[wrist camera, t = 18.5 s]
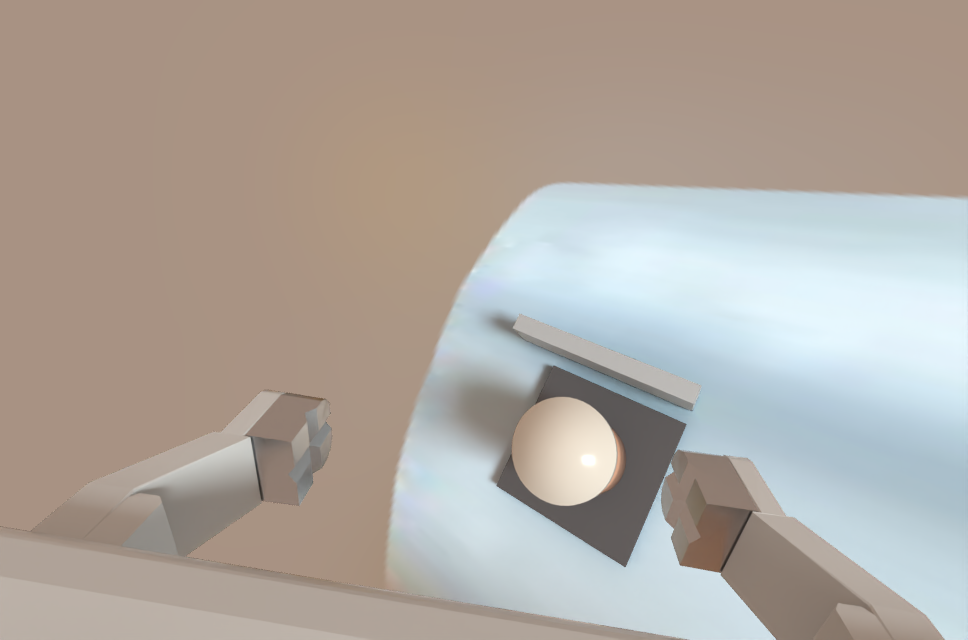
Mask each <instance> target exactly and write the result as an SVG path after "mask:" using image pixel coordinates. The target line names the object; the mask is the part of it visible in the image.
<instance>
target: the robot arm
mask: <svg viewBox="0 0 968 640" xmlns="http://www.w3.org/2000/svg"><path fill="white" fill-rule="evenodd" d="M330 414H331V412H330V404H329V401H327V400H326V399H322V398H316V397H310V396H304V395H298V394H292V393H284V392H279V391H272V390H264V391H261V392H260V393H259V394H258V395H257V396H256V397H255V398H254V399H253V400H252V401H251V402H250V403H249V404H248V405H247V406H246V407H245V408H244V409H243V410H242V411H241V412H240V413H239V414H238V415H237V416H236V417H235V418H234V419H233V420H232V421H231V422H230V423H229V424H228V425H227V426H226V427H225V428H224V429H223V430H222V431H221V432H215V431H214V432H211V433H209V434H206V435H204V436H201V437H199V438H197V439H194V440H192V441H189V442H187V443H184V444H182V445H179V446H177V447H175V448H172V449H170V450H168V451H165V452H162V453H160V454H157V455H155V456H153V457H150V458H148V459H145V460H143V461H141V462H138V463H136V464H133V465H131V466H128V467H126V468H123V469H121V470H118V471H116V472H113V473H111V474H109V475H106V476H104V477H101V478H99V479H96V480H94V481H91V482H89V483H88V484H86V485H85V486H84V487H83V488H82V489H80V490H79V491H78V492H77V493H76V494H74V495H73V496H72V497H71V498H70V499H68V500H67V501H66V502H65V503H64V504H62V505H61V506H60V507H59V508H57V509H56V510H55V511H54V512H53V513H51V514H50V515H49V516H48V517H47V518H45V519H44V520H43V521H42V522H41V523H40V524H38V525H37V526H36V527H35V528H34V529H32V530H31V531H26V530H20V529H14V528H7V527H1V526H0V640H688V639H682V638H676V637H670V636H664V635H658V634H652V633H646V632H640V631H634V630H628V629H622V628H615V627H609V626H603V625H597V624H591V623H585V622H579V621H573V620H567V619H561V618H555V617H549V616H543V615H537V614H530V613H524V612H518V611H512V610H506V609H500V608H494V607H488V606H482V605H476V604H470V603H464V602H458V601H452V600H446V599H439V598H433V597H427V596H421V595H415V594H409V593H403V592H397V591H391V590H385V589H379V588H372V587H366V586H361V585H354V584H348V583H342V582H336V581H330V580H324V579H318V578H312V577H306V576H300V575H294V574H288V573H282V572H275V571H269V570H263V569H257V568H251V567H245V566H239V565H233V564H226V563H221V562H214V561H209V560H203V559H196V558H190V557H185V556H187V555H188V554H189V553H191V552H192V551H194V550H195V549H197V548H198V547H199V546H201V545H202V544H204V543H205V542H206V541H208V540H209V539H211V538H212V537H214V536H215V535H217V534H218V533H220V532H221V531H222V530H224V529H225V528H227V527H228V526H229V525H231V524H232V523H234V522H235V521H237V520H238V519H240V518H241V517H243V516H244V515H245V514H247V513H248V512H250V511H251V510H253V509H254V508H255V507H257V506H258V505H260V504H261V503H262V501H266V502H273V503H281V504H289V505H298V506H299V505H300V504H301V502H302V500H303V499H304V497H305V496H306V494H307V492H308V490H309V489H310V487H311V486H312V484H313V475H312V474H313V473H314V472H316V471H318V470H320V469H321V468H322V467H323V465H324V464H325V462H326V460H327V458H328V455H329V451H330V448H331V443H332V429H331V427H330V426H329V425H328V424H327V422H326V420H327V418H328V417H329V415H330ZM671 464H672V467H673V470H674V472H673V473H672V474H670V475H669V476H667V477H666V478H665V481H664V484H663V487H662V495H661V504H662V511H663V514H664V517H665V520H666V521H667V522H668V523H669V524H670V525H671V526H672V527H673V528H674V531H673V534H672V536H671V540H672V543H673V546H674V549H675V552H676V555H677V558H678V561H679V564H680V565H681V566H687V567H692V568H698V569H703V570H708V571H714V572H719V573H721V576H722V577H723V578H724V579H725V580H726V582H727V583H728V584H729V585H730V586H731V587H732V589H733V590H734V591H735V592H736V593H737V594H738V596H739V597H740V598H741V599H742V600H743V601H744V602H745V604H746V605H747V606H748V607H749V608H750V609H751V611H752V612H753V613H754V614H755V615H756V616H757V618H758V619H759V620H760V621H761V622H762V623H763V624H764V626H765V627H766V628H767V629H768V630H769V631H770V633H771V634H772V635H773V636H774V637H775V638H776V640H945V639H944V638H943V637H942V635H941V634H940V633H939V632H938V630H937V629H936V628H935V626H934V625H933V624H932V623H931V621H930V620H929V619H928V617H927V616H926V615H925V614H923V613H922V612H921V611H919V610H918V609H917V608H915V607H914V606H913V605H911V604H910V603H909V602H907V601H906V600H905V599H903V598H902V597H900V596H899V595H898V594H896V593H895V592H894V591H892V590H891V589H890V588H888V587H887V586H886V585H884V584H883V583H882V582H880V581H879V580H878V579H876V578H875V577H873V576H872V575H871V574H869V573H868V572H867V571H865V570H864V569H863V568H861V567H860V566H859V565H857V564H856V563H855V562H853V561H852V560H851V559H849V558H848V557H846V556H845V555H844V554H842V553H841V552H840V551H838V550H837V549H836V548H834V547H833V546H832V545H830V544H829V543H828V542H826V541H825V540H824V539H822V538H821V537H819V536H818V535H817V534H815V533H814V532H813V531H811V530H810V529H809V528H807V527H806V526H805V525H803V524H802V523H801V522H799V521H798V520H797V519H795V518H793V517H787V516H786V515H785V513H784V512H783V510H782V508H781V507H780V505H779V504H778V502H777V500H776V499H775V497H774V496H773V494H772V493H771V491H770V489H769V488H768V486H767V485H766V483H765V481H764V480H763V478H762V477H761V475H760V473H759V472H758V470H757V469H756V467H755V465H754V464H753V462H752V461H750V460H749V459H748V458H743V457H734V456H726V455H724V456H721V455H714V454H706V453H699V452H692V451H685V450H677V452H676V453H675V454H674V456H673V459H672V461H671Z"/></svg>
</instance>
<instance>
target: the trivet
mask: <svg viewBox="0 0 968 640" xmlns="http://www.w3.org/2000/svg"><path fill="white" fill-rule="evenodd" d="M554 397H570V398H574V399H578V400H580V401H583V402H585V403H587V404H589V405H590V406H591V407H593V408H594V409H595V410H596V411H598V412H599V413H600V414H601V415H602V416H603V417H604V418H605V420H606V421H607V422H608V424H609V425H610V426H611V427H612V428H613V429H614V430H615V431H616V432H617V433H618V435H619V436H620V438H621V440H622V442H623V444H624V447H625V451H626V467H625V471H624V474H623V476H622V478H621V479H620V481H619V482H618V484H617V485H616V486H615V487H614V488H612V489H611V490H609V491H608V492H606V493H604V494H601V495H598V496H596V497H595V498H593V499H591V500H589V501H587V502H584V503H581V504H577V505H571V506H560V505H554V504H551V503H548V502H545V501H543V500H541V499H539V498H538V497H536V496H535V495H534V494H532V493H531V492H530V491H529V490H528V489H527V488H526V487H525V485H524V484H523V483H522V481H521V480H520V478H519V476H518V474H517V472H516V470H515V467H514V463H513V459H512V454H511V456H510V458H509V460H508V462H507V465H506V467H505V469H504V471H503V473H502V475H501V477H500V479H499V481H498V483H497V486H498V487H499V488H501V489H502V490H504V491H506V492H507V493H509V494H510V495H512V496H513V497H515V498H517V499H518V500H520V501H521V502H523V503H524V504H526V505H528V506H529V507H531V508H532V509H534V510H536V511H537V512H539V513H540V514H542V515H543V516H545V517H547V518H548V519H550V520H551V521H553V522H555V523H556V524H558V525H559V526H561V527H562V528H564V529H566V530H567V531H569V532H570V533H572V534H573V535H575V536H577V537H578V538H580V539H581V540H583V541H585V542H586V543H588V544H589V545H591V546H592V547H594V548H596V549H597V550H599V551H600V552H602V553H604V554H605V555H607V556H608V557H610V558H611V559H613V560H615V561H616V562H618V563H619V564H621V565H622V566H624V567H626V565H627V562H628V560H629V558H630V555H631V553H632V551H633V548H634V546H635V544H636V541H637V539H638V537H639V534H640V532H641V530H642V527H643V525H644V523H645V520H646V518H647V516H648V513H649V511H650V509H651V506H652V504H653V502H654V499H655V497H656V495H657V492H658V490H659V488H660V485H661V483H662V481H663V478H664V476H665V473H666V471H667V469H668V466H669V464H670V462H671V459H672V457H673V455H674V452H675V450H676V448H677V445H678V443H679V441H680V438H681V436H682V434H683V431H684V429H685V427H686V424H685V423H683V422H680V421H678V420H676V419H674V418H671V417H669V416H667V415H664V414H662V413H660V412H658V411H655V410H653V409H651V408H649V407H646V406H644V405H642V404H640V403H637V402H635V401H633V400H631V399H628V398H626V397H624V396H622V395H619V394H617V393H615V392H612V391H610V390H608V389H606V388H603V387H601V386H599V385H597V384H594V383H592V382H590V381H588V380H585V379H583V378H581V377H579V376H576V375H574V374H572V373H570V372H567V371H565V370H563V369H560V368H558V367H556V366H553V368H552V370H551V372H550V375H549V377H548V379H547V381H546V383H545V385H544V387H543V389H542V391H541V393H540V395H539V398H538V400H537V402H536V404H537V403H539V402H541V401H543V400H546V399H549V398H554Z"/></svg>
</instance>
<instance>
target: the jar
mask: <svg viewBox="0 0 968 640" xmlns="http://www.w3.org/2000/svg"><path fill="white" fill-rule="evenodd" d="M512 459H513V463H514V467H515V470H516V472H517V474H518V476H519V478H520V480H521V481H522V483H523V484H524V485H525V487H526V488H527V489H528V490H529V491H530V492H531V493H532V494H534V495H535V496H536V497H538V498H539V499H541V500H543V501H545V502H548V503H551V504H554V505H560V506H571V505H577V504H581V503H584V502H587V501H589V500H591V499H593V498H595V497H596V496H598V495H601V494H604V493H606V492H608V491H609V490H611V489H612V488H614V487H615V486H616V485H617V484H618V482H619V481H620V479H621V478H622V476H623V474H624V471H625V467H626V451H625V447H624V444H623V442H622V440H621V438H620V436H619V435H618V433H617V432H616V431H615V430H614V429H613V428H612V427H611V426H610V425H609V424H608V422H607V421H606V420H605V418H604V417H603V416H602V415H601V414H600V413H599V412H598V411H596V410H595V409H594V408H593V407H591V406H590V405H589V404H587V403H585V402H583V401H580V400H578V399H574V398H570V397H554V398H549V399H546V400H543V401H541V402H539V403H537V404H535V405H534V406H532V407H531V408H530V409H529V410H528V411H527V412H526V413H525V414H524V415H523V416H522V418H521V419H520V421H519V423H518V424H517V426H516V429H515V432H514V435H513V440H512Z"/></svg>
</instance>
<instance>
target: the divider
mask: <svg viewBox="0 0 968 640" xmlns="http://www.w3.org/2000/svg"><path fill="white" fill-rule="evenodd" d="M513 329H514V330H515V331H516V332H517V333H518V334H519V335H520V336H521V337H522V338H524V339H525V340H526V341H528V342H531V343H533V344H535V345H538V346H540V347H542V348H545V349H547V350H549V351H552V352H554V353H556V354H559V355H561V356H564V357H566V358H568V359H571V360H573V361H575V362H578V363H580V364H582V365H585V366H587V367H589V368H592V369H594V370H596V371H599V372H601V373H603V374H606V375H608V376H610V377H613V378H615V379H617V380H620V381H622V382H624V383H627V384H629V385H632V386H634V387H636V388H639V389H641V390H643V391H646V392H648V393H650V394H653V395H655V396H657V397H660V398H662V399H664V400H667V401H669V402H671V403H674V404H676V405H678V406H681V407H683V408H685V409H688V410H690V411H692V410H693V408H694V406H695V403H696V401H697V399H698V396H699V393H700V390H701V385H699V384H696V383H693V382H691V381H688V380H686V379H683V378H681V377H678V376H676V375H673V374H671V373H668V372H666V371H663V370H661V369H658V368H656V367H653V366H651V365H648V364H645V363H643V362H640V361H638V360H635V359H633V358H630V357H628V356H625V355H623V354H620V353H618V352H615V351H613V350H610V349H608V348H605V347H603V346H600V345H597V344H595V343H592V342H590V341H587V340H585V339H582V338H580V337H577V336H575V335H572V334H570V333H567V332H565V331H562V330H560V329H557V328H555V327H552V326H549V325H547V324H544V323H542V322H539V321H537V320H534V319H532V318H529V317H527V316H524V315H522V314H519V316H518V318H517V320H516V322H515V324H514V326H513Z"/></svg>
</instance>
